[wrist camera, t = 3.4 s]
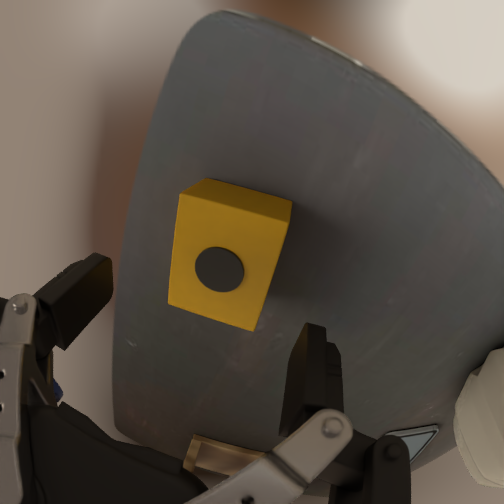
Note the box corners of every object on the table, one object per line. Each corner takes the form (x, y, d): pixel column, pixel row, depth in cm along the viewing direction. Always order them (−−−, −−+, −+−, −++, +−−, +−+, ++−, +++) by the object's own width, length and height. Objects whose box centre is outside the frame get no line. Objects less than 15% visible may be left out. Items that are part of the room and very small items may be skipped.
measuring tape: (189, 277, 18) (165, 311, 15) (205, 177, 15) (177, 193, 12) (261, 300, 18) (251, 339, 15) (293, 201, 15) (289, 224, 12)
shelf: (189, 459, 34) (163, 529, 22) (194, 433, 29) (160, 526, 16) (261, 478, 34) (246, 549, 21) (286, 456, 28) (270, 550, 16)
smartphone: (441, 427, 21) (400, 473, 27) (440, 422, 22) (400, 468, 28) (385, 437, 23) (356, 478, 29) (384, 431, 23) (356, 474, 29)
